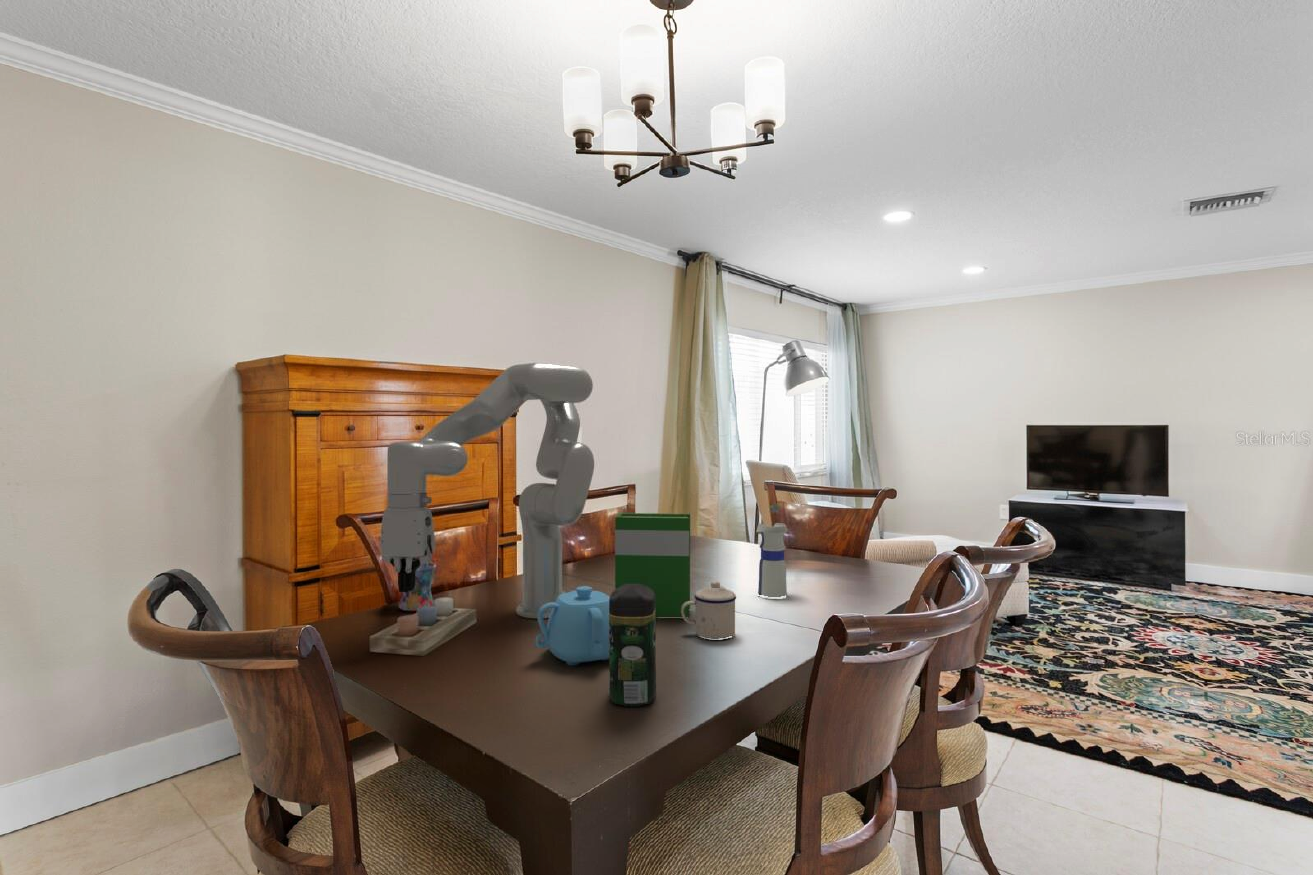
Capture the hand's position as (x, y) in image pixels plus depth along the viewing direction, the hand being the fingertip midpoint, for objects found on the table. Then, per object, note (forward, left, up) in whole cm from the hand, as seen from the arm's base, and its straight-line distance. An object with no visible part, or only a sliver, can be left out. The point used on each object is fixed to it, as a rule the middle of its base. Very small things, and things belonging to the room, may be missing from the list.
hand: (406, 590), depth 130 cm
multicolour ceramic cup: (+14, -27, -12) cm, 33 cm away
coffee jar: (-51, +14, -12) cm, 54 cm away
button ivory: (0, -14, -10) cm, 17 cm away
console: (0, -7, -12) cm, 14 cm away
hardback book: (-45, -33, -12) cm, 57 cm away
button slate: (0, -7, -9) cm, 12 cm away
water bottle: (-73, -55, -12) cm, 92 cm away
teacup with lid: (-60, -20, -12) cm, 65 cm away
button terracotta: (0, 0, -9) cm, 10 cm away
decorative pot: (-37, -3, -12) cm, 39 cm away
